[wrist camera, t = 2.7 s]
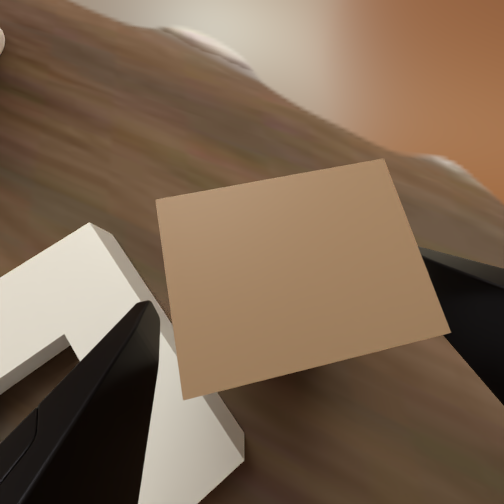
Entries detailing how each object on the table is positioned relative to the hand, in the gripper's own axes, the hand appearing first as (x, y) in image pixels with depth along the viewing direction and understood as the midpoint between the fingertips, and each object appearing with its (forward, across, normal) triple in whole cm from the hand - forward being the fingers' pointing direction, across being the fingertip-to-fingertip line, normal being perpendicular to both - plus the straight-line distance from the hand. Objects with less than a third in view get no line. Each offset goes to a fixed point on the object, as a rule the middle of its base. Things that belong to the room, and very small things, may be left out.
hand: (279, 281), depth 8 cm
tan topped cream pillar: (+6, 0, +6) cm, 8 cm away
